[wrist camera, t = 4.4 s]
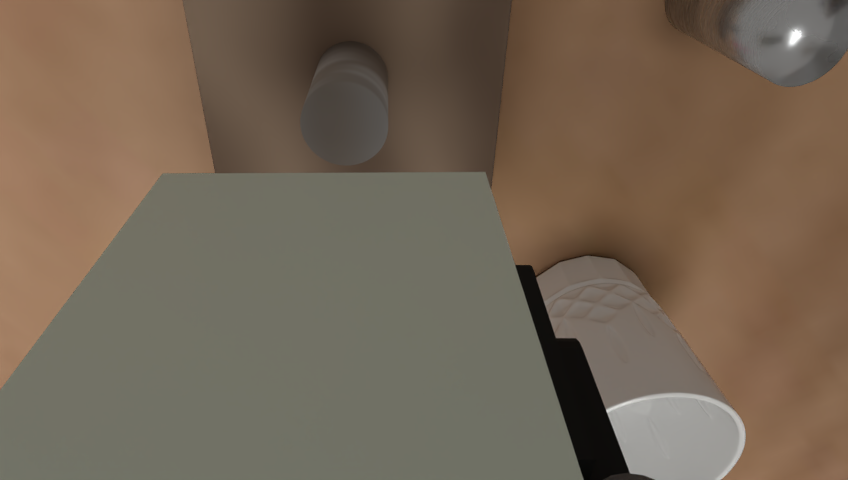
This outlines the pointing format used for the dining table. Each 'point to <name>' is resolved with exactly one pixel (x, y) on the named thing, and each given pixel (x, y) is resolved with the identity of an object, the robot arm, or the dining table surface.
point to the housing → (294, 341)
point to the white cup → (643, 372)
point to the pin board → (282, 76)
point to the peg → (769, 34)
